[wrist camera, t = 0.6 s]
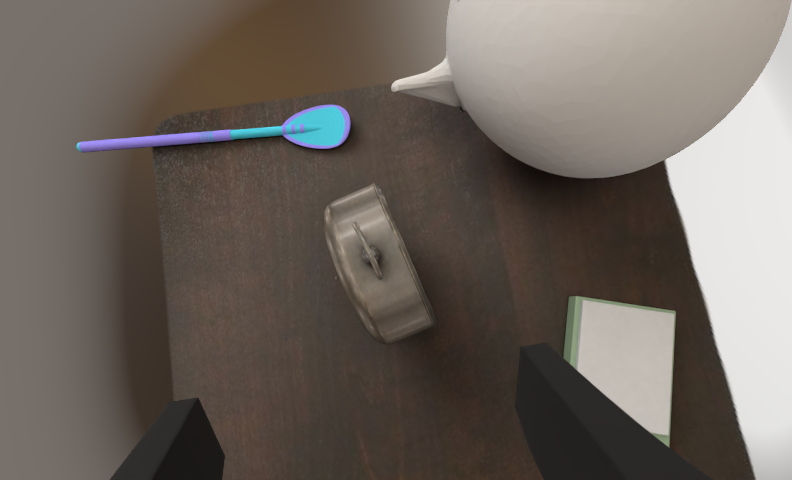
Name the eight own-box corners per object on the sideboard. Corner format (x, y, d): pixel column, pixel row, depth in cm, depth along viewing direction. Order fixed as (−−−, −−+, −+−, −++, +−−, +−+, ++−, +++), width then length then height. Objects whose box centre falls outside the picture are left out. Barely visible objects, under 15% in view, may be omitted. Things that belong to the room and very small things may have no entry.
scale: (657, 449, 35) (673, 457, 33) (556, 432, 35) (566, 439, 33) (664, 311, 36) (680, 311, 34) (568, 296, 37) (578, 295, 35)
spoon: (350, 105, 40) (348, 99, 39) (353, 148, 40) (352, 144, 38) (81, 127, 40) (70, 122, 39) (82, 170, 40) (71, 167, 39)
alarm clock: (435, 321, 37) (459, 326, 21) (376, 346, 36) (353, 371, 20) (386, 205, 38) (372, 127, 22) (329, 228, 38) (274, 167, 22)
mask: (706, -71, 36) (563, -290, 24) (952, 1, 24) (892, -361, 13) (524, 141, 46) (369, 57, 35) (630, 264, 35) (446, 196, 23)
